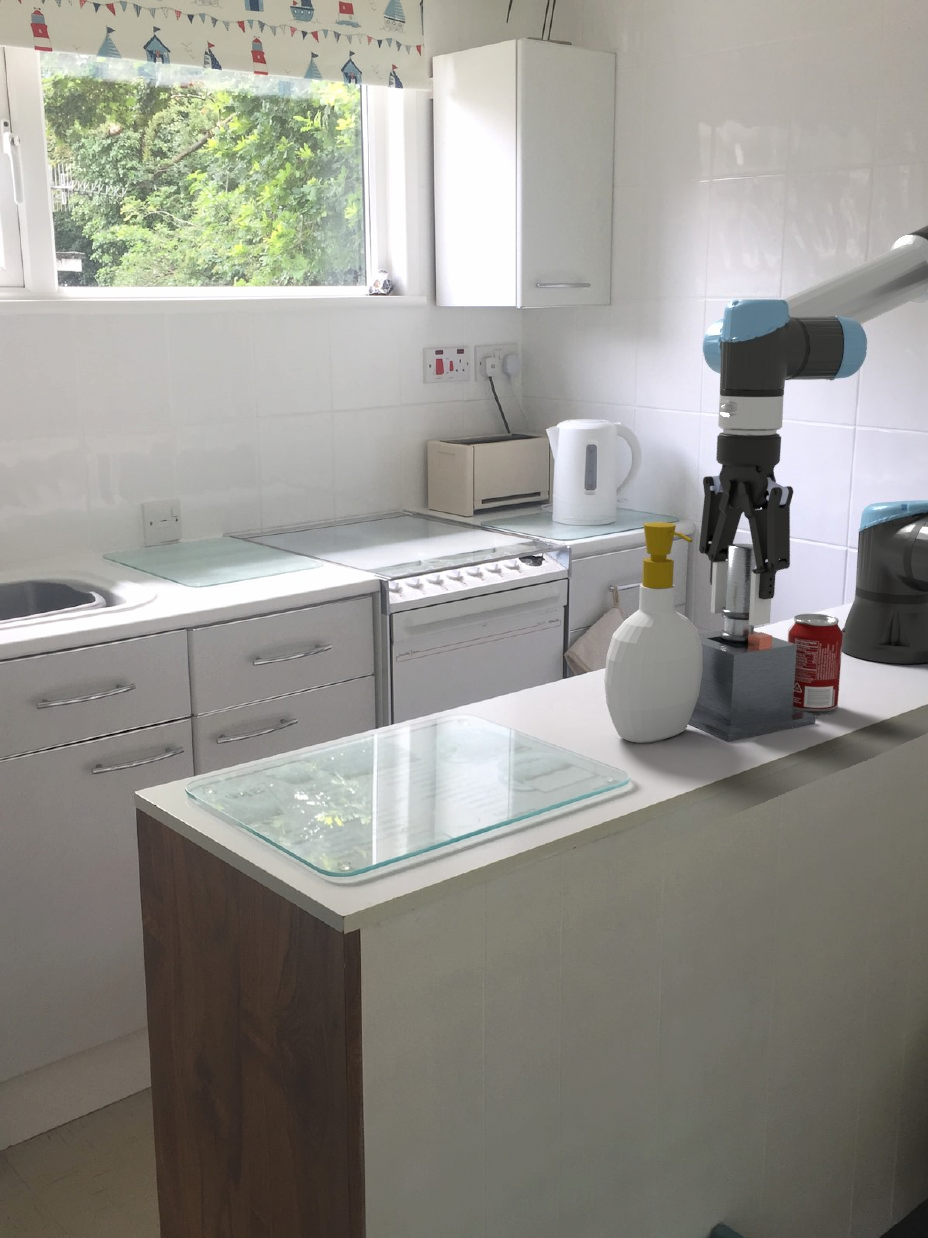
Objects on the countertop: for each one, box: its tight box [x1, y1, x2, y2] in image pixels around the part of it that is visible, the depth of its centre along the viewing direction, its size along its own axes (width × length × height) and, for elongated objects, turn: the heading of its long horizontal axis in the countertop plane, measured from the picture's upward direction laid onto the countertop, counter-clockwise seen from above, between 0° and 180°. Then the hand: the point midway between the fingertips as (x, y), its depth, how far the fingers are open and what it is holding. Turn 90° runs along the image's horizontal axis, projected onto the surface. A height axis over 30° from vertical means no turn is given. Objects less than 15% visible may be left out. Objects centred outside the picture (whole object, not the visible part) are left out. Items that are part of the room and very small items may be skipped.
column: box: [719, 543, 758, 648], centre depth 151 cm, size 5×5×21 cm
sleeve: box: [688, 630, 817, 742], centre depth 152 cm, size 14×14×12 cm
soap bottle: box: [604, 521, 703, 744], centre depth 143 cm, size 14×9×26 cm, turn 127°
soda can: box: [786, 613, 843, 715], centre depth 156 cm, size 7×7×12 cm
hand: (739, 617), depth 151 cm, fingers open, 6 cm apart
